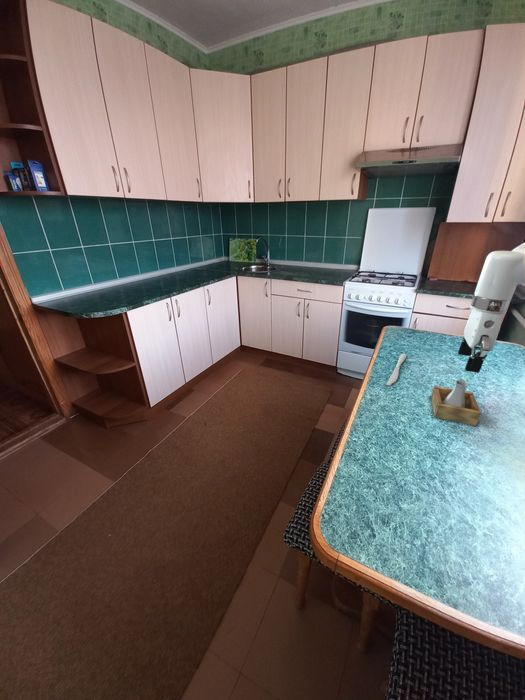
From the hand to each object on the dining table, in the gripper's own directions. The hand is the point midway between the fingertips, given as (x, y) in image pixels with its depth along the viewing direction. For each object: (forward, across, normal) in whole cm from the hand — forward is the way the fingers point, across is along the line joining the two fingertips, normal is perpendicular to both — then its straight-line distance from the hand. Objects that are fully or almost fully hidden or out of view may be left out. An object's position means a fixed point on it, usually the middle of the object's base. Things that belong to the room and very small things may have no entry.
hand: (467, 362), depth 80 cm
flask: (+17, 0, -1) cm, 17 cm away
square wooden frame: (+17, 0, -1) cm, 17 cm away
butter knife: (+17, +20, +14) cm, 30 cm away
